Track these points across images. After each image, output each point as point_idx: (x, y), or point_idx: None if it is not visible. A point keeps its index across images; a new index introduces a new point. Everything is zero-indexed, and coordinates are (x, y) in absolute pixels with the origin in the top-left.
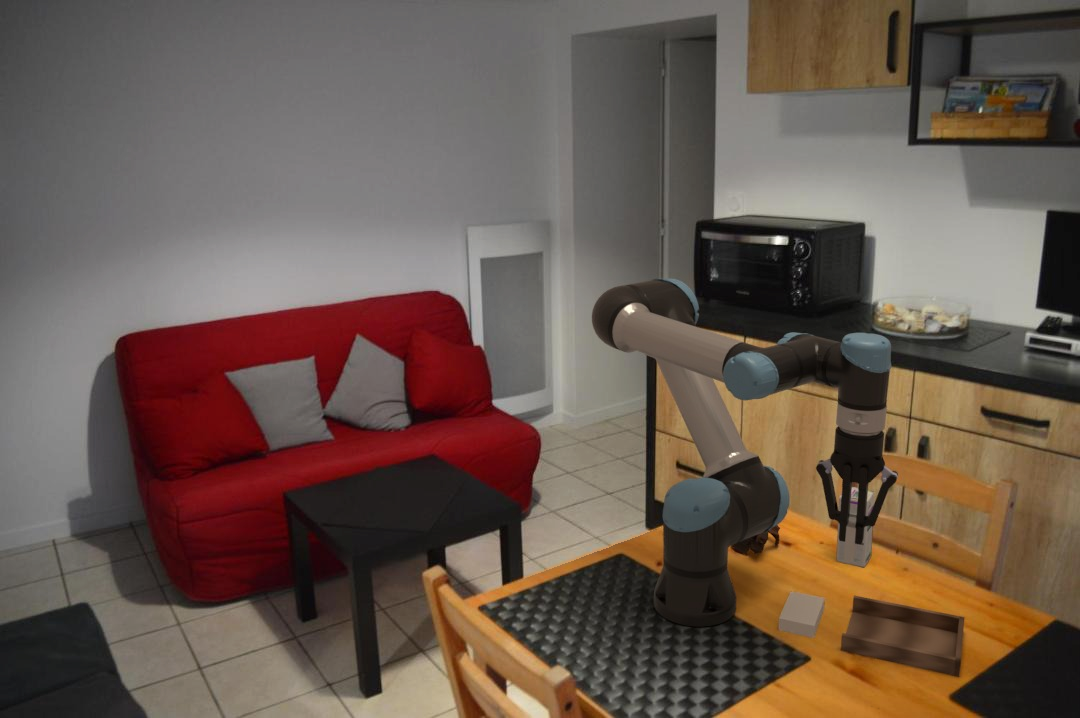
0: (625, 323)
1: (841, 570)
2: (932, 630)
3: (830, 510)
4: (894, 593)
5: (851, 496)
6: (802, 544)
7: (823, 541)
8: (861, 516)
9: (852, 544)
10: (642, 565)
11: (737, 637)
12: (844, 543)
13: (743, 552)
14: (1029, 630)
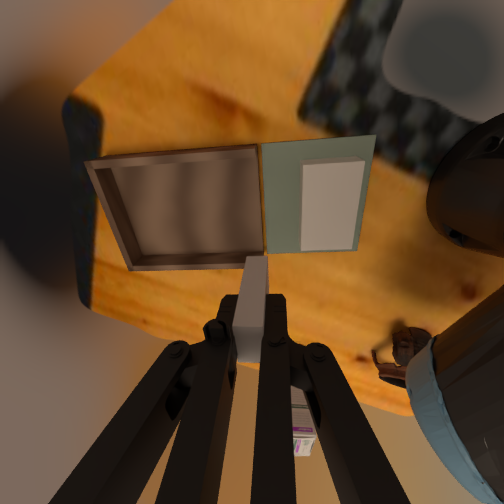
0: None
1: (294, 331)
2: (167, 249)
3: (333, 378)
4: None
5: (298, 440)
6: (343, 361)
7: None
8: (205, 371)
9: (245, 286)
10: None
11: (423, 117)
12: None
13: (415, 329)
14: (98, 293)
